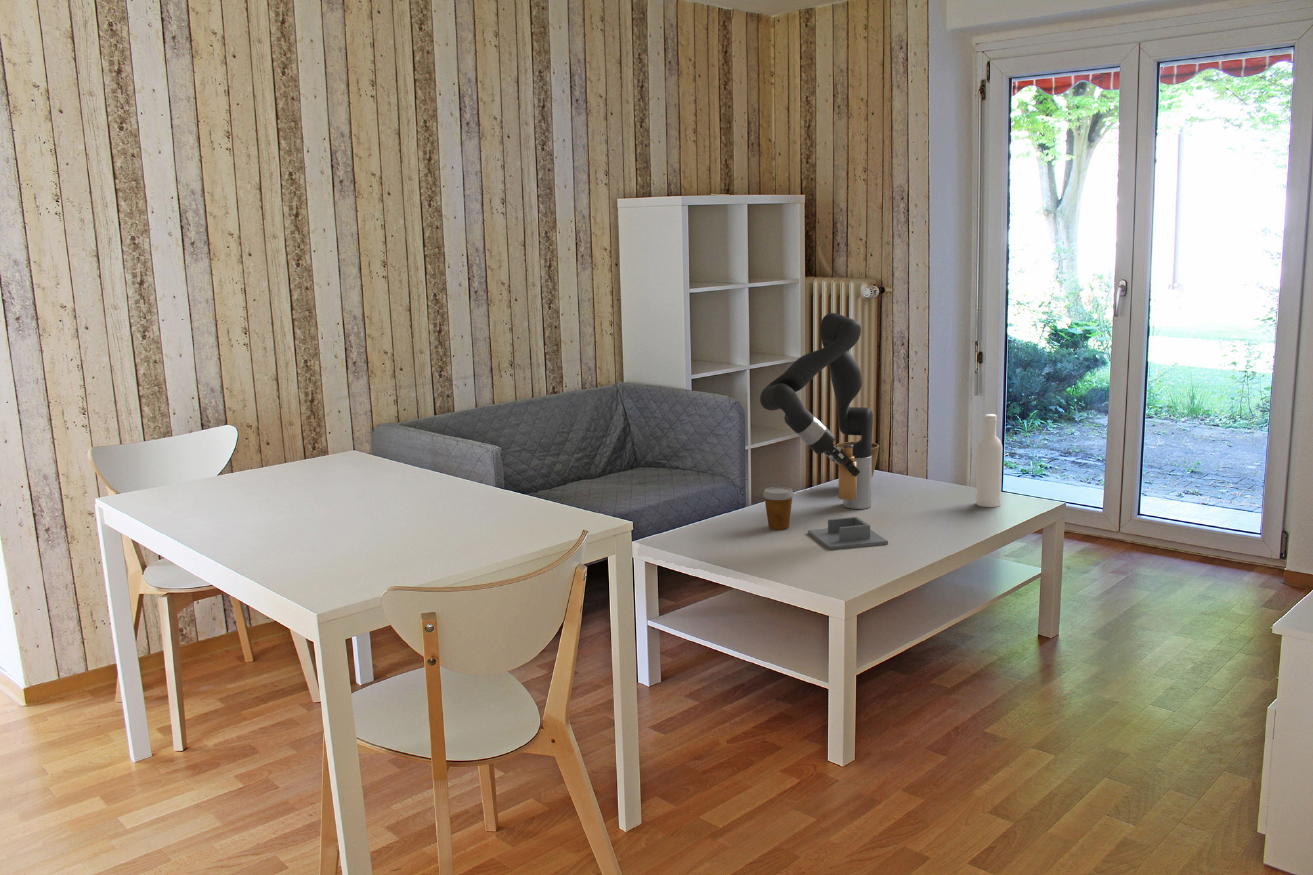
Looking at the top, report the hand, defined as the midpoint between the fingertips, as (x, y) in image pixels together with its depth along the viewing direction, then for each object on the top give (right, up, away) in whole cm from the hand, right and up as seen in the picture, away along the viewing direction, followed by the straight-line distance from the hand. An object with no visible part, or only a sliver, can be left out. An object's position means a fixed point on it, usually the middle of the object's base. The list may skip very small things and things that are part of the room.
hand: (853, 471), depth 301 cm
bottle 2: (+52, -12, +36) cm, 64 cm away
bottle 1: (-2, -8, +1) cm, 8 cm away
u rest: (-1, -20, +4) cm, 20 cm away
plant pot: (+13, -8, +63) cm, 65 cm away
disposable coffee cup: (-20, -18, +18) cm, 32 cm away
